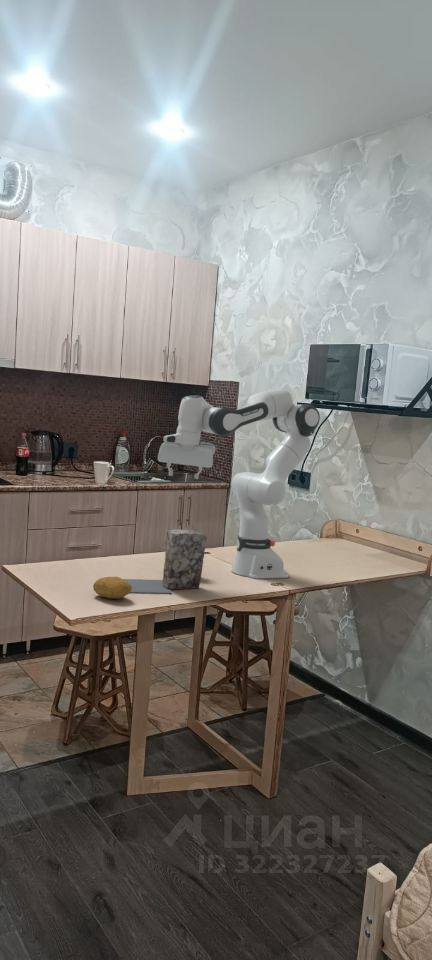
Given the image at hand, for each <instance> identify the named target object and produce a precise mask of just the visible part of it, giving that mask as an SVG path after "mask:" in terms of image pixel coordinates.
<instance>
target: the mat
mask: <svg viewBox="0 0 432 960" xmlns="http://www.w3.org/2000/svg"><path fill="white" fill-rule="evenodd" d="M122 579H123V580H125V581H127V582H128V583H130V585H131V587H132V590H131V591H130V593H129V594H147V595H148V594H153V595H154V594H157V595H158V594H159V595H163V594H164V595H172V594H173V592H172V589H167V588H166V587H165V586H163V579H140V578H136V579H135V578H133V579H132V578H122Z"/></svg>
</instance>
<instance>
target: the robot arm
mask: <svg viewBox="0 0 432 960" xmlns="http://www.w3.org/2000/svg"><path fill="white" fill-rule="evenodd" d="M293 402H294V401H293V397H292V395H291V393H290V392H289V390H286V389H283V388H276V389H274V388H273V389H268V390H263V391H259V392H256V393H254V394H252V395H250V396H249V397H248V398H247V401H246V405H245V406H243V407H240V408H236V409H234V408H229V407H215V406H213V405H211V404H210V403H209V402H207V400H206V399H204V397H203V396H201V395H186V396H184V397H182V399H181V401H180V405H179V409H178V416H177V418H178V419H177V420H178V426H177V428H176V433H172V434H169V435H164V436H163V440H162V441H163V442H162V444H161V445H160V447H159V450H158V454H157V461H158V462H159V463H164V464H165V463H166V468H167V470H168V476H169V477H170V476H171V477H173V474H174V470H171V466H172V464H175V465H183V466H184V465H185V466H191V467H198V472H197V473H194V478H193V479H195V480H199V475H200V474H201V473H202V471H203V468H207V469H210V468H212V467H213V462H214V455H215V453H216V450H217V449H216V446H215V444H214V443H212V442H209V441H208V442H207V441H203V440H202V441H201V434H202V432H204V433H209V434H212V435H213V434H214V435H219V436H221V437H222V436H223V437H228V436H231V435H232V434H233V433H234V432H236V431H237V430H238V429H239V428H241V427H243V426H246V425H247V426H248V425H250V424H253V423H254V422H263V421H267V420H272V424H273V426H274V428H275V429H276V430H278V432H282V433H286V434H285V436H284V438H283V440H282V441H281V442H279V443H278V445H276V447H275V448H274V449H273V450H272V451H271V452H270V454H268V455H267V457H266V458H265V461H264V462H265V467H266V468H265V469H264V471H263V472H262V473H257V472H252V471H245V472H243V471H242V472H238V473H236V474H235V476H233V478H232V479H231V491H232V492H233V494H234V495H235V498H236V500H237V503H238V508H239V516H240V517H239V531H238V535H237V539H236V554H235V557H234V562H233V566H232V567H231V572H232V573H234V574H237V575H239V576H245V577H248V578H252V579H258V580H259V579H282V578H283V579H284V578H285V579H287V578H289V577H290V573H289V572H288V570H286V569H285V567H284V561H283V558H282V557H281V556H280V555H279V554H278V553H277V552H275V550H273V549H272V548H271V547H275V546H276V542H275V541H274V540H271V539H269V538H268V531H269V521H270V519H269V517H268V515H267V513H266V512H265V510H264V509H265V508H264V506H276V505H278V504H281V503H282V502H283V500H284V498H285V495H286V486H285V484H286V481H287V479H288V477H289V476H290V474H291V473H292V472H293V471H294V470H295V469H296V467H298V466H299V464H300V463H301V462H302V460H303V459H304V458H305V456H306V455H307V453H308V451H309V449H310V448H311V445H312V444H311V440H310V438H309V437H311V436H313V434H314V433H315V430H316V429H317V428H318V426H319V424H320V419H321V414H320V412H319V410H318V409H317V407H315V406H314V405H311V404H306V403H305V404H295V403H293Z"/></svg>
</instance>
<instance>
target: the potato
mask: <svg viewBox="0 0 432 960" xmlns="http://www.w3.org/2000/svg"><path fill="white" fill-rule="evenodd" d="M123 579H124V578H121V577H119V576H104V577H100V578H98V579H97V580H96V581H94V583H93V585H92V587H93V592H94V593H96V594H97V595H98V596H99V597H103V598H107V599H110V600H111V599H112V600H114V599H121V598H125V597H126V596H127V595H130V594H131V593H130V591H131V590H132V587H131V585H130V583H128V582H127V581H125V580H123Z"/></svg>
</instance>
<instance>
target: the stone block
mask: <svg viewBox="0 0 432 960" xmlns="http://www.w3.org/2000/svg"><path fill="white" fill-rule="evenodd" d="M206 542H207V535H205V533H203V532H202V531H201V530H197V529H170V530H167V532H166V538H165V552H164V555H165V557H164V565H163V571H162V572H163V574H162V575H163V577H162V580H163V586H165V587H166V588H167V589H170V590H187V589H188V590H189V589H190V590H191V589H199V588H200V584H201V579H202V578H201V577H202V573H203V564H204V558H205V552H206V551H205V550H206Z"/></svg>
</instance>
